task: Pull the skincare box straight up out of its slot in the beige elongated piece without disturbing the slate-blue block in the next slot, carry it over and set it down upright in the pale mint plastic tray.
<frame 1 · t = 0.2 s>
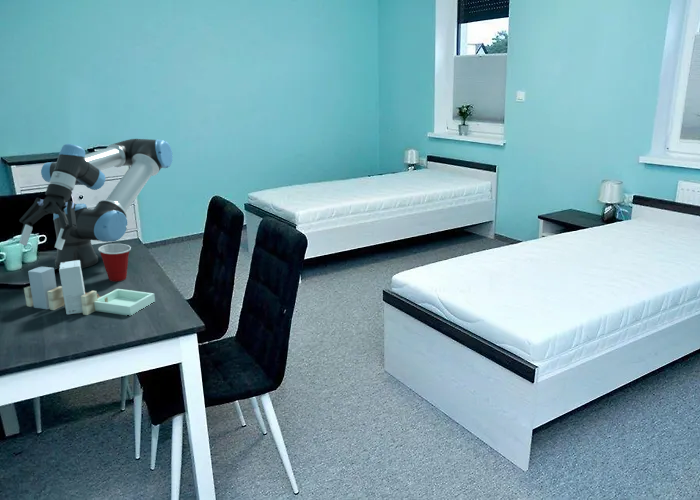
hand: (40, 246, 182), 16 cm above the table, tool tilted 35°, fingers open, 13 cm apart
tray: (124, 306, 176), on the table
plastic cup: (118, 279, 201), on the table
beige elongated piece: (61, 307, 175), on the table
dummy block: (46, 305, 176), on the table
skincare box: (76, 309, 174), on the table
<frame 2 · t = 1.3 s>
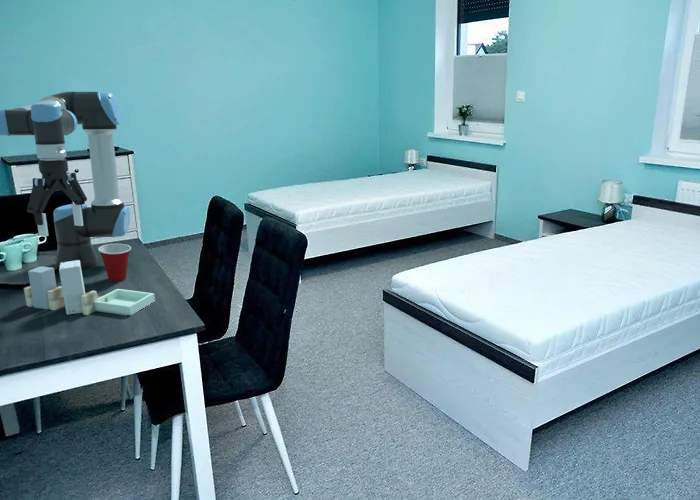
hand: (62, 230, 166), 25 cm above the table, tool pointing down, fingers open, 13 cm apart
nothing on the table moved.
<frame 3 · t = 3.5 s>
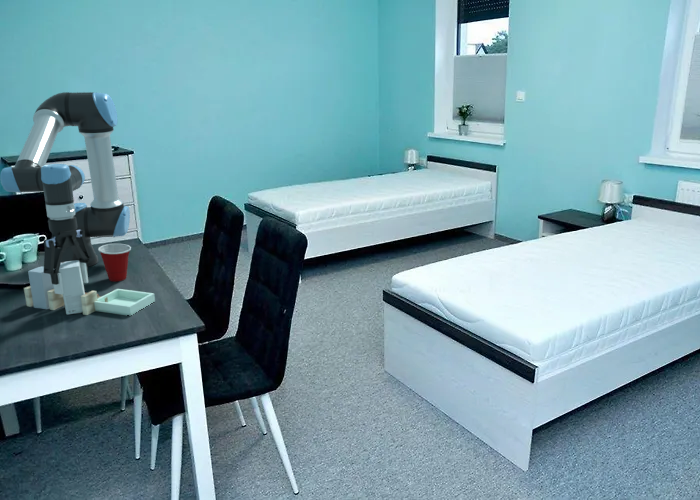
hand: (72, 287, 171), 7 cm above the table, tool pointing down, fingers closed on skincare box, 9 cm apart
skincare box: (76, 309, 174), on the table, touching gripper
everything else where it was.
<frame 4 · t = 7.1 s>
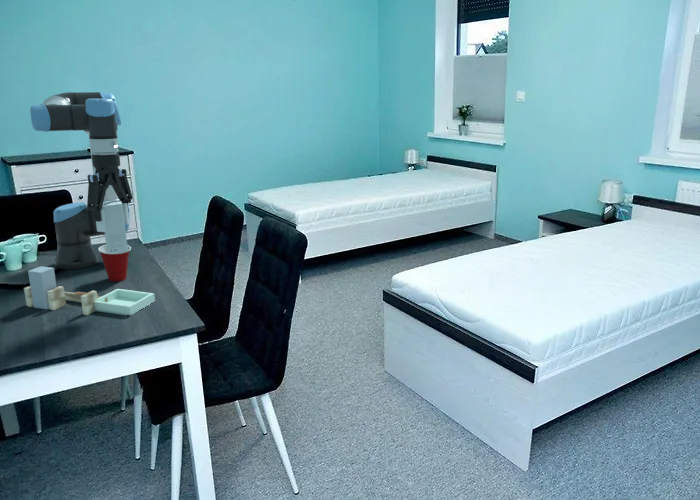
hand: (113, 227, 169), 26 cm above the table, tool pointing down, fingers closed on skincare box, 9 cm apart
skincare box: (117, 250, 171), point 18 cm above the table, touching gripper
everything else where it was.
when the fingers open (9 cm above the table, at t = 10.8 s): skincare box drops 1 cm, resting on tray.
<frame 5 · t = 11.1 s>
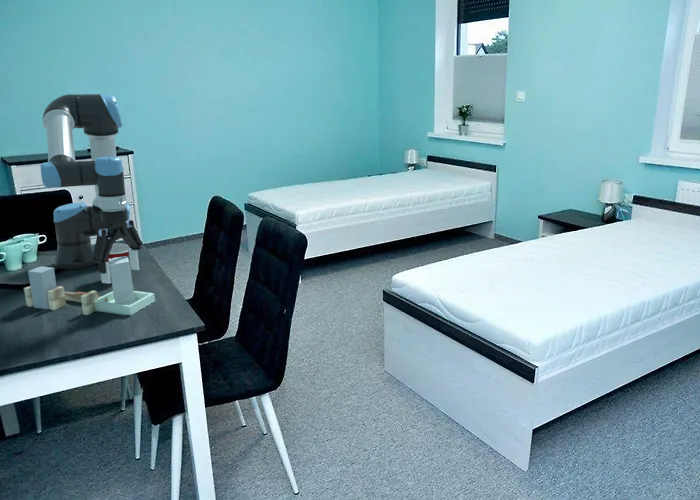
hand: (121, 276, 173), 10 cm above the table, tool pointing down, fingers open, 13 cm apart
skincare box: (125, 304, 176), resting on tray
everything else where it was.
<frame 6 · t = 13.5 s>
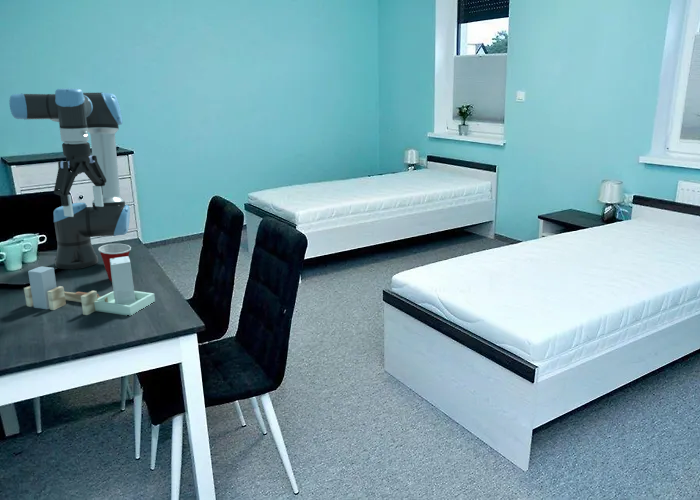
hand: (84, 211, 173), 29 cm above the table, tool pointing down, fingers open, 13 cm apart
nothing on the table moved.
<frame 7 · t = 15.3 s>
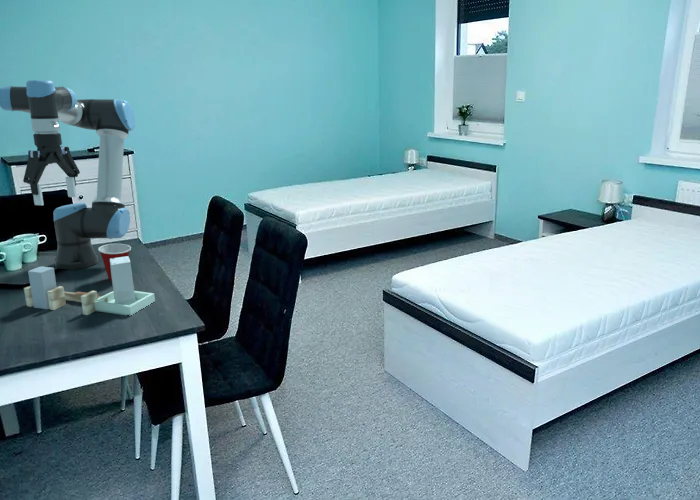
hand: (56, 200, 176), 32 cm above the table, tool pointing down, fingers open, 13 cm apart
nothing on the table moved.
at the end: skincare box inside the target area on the tray (0.3 cm from its centre), point 0.4 cm above the tray's base; skincare box tilted 0°; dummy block moved 0.0 cm from its start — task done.
